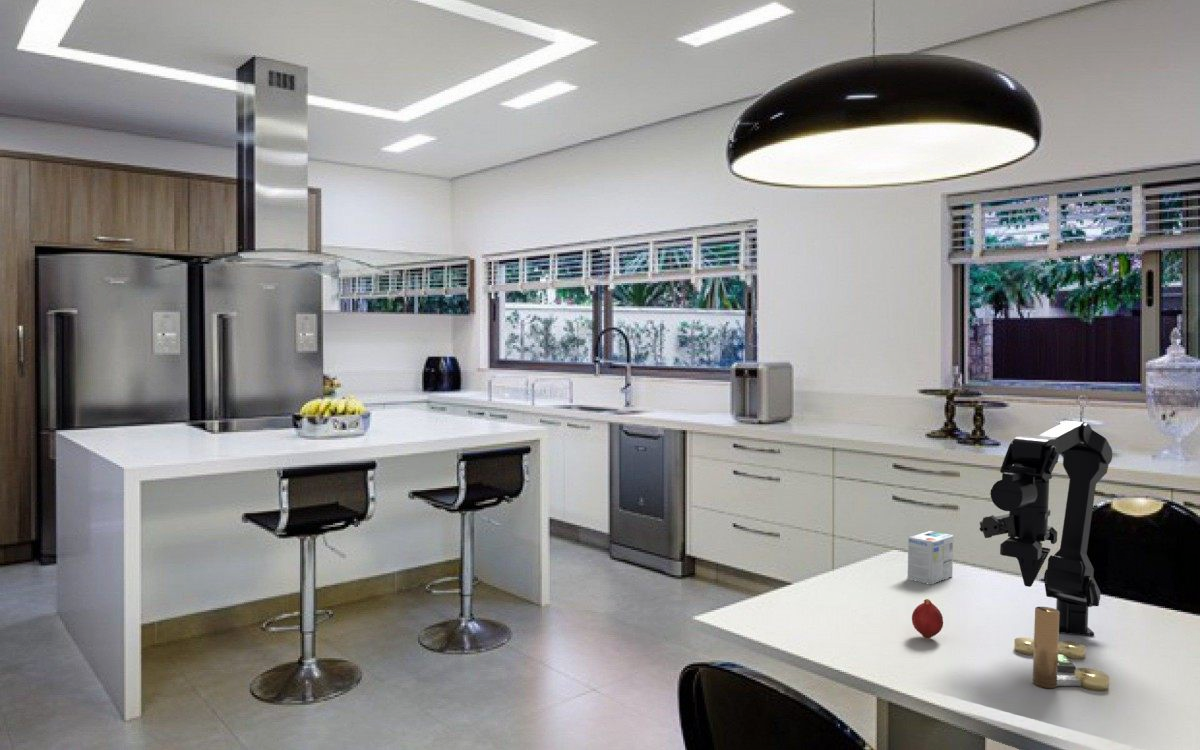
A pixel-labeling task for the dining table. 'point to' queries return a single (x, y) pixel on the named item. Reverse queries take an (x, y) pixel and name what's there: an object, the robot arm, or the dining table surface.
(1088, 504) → the robot arm
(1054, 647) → the knob lever
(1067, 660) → the tribrach plate
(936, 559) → the light bulb box
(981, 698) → the dining table surface
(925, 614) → the onion
